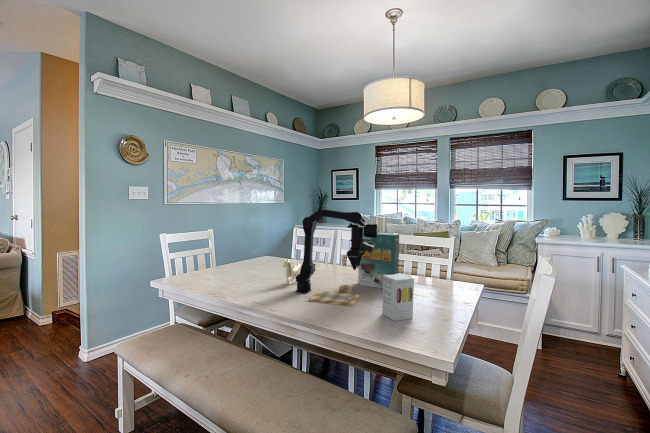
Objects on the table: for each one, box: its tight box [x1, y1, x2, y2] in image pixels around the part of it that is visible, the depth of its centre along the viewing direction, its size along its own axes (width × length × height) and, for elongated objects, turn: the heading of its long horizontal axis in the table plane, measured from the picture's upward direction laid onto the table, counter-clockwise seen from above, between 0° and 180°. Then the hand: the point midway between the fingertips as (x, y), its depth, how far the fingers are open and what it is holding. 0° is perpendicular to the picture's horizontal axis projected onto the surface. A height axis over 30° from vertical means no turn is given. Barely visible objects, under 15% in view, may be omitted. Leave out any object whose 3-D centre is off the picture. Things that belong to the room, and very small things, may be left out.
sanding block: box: [338, 284, 353, 294], centre depth 161 cm, size 6×4×4 cm, turn 73°
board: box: [307, 290, 360, 307], centre depth 151 cm, size 22×14×1 cm, turn 73°
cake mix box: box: [357, 232, 400, 289], centre depth 175 cm, size 22×6×30 cm, turn 58°
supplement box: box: [381, 273, 415, 322], centre depth 129 cm, size 10×9×17 cm
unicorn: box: [282, 258, 302, 286], centre depth 177 cm, size 20×4×17 cm, turn 156°
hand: (356, 267), depth 154 cm, fingers open, 9 cm apart
